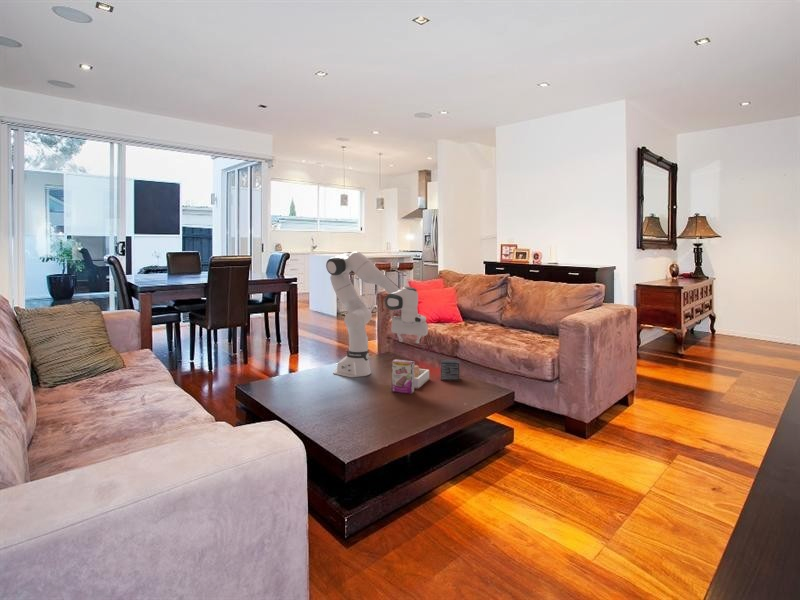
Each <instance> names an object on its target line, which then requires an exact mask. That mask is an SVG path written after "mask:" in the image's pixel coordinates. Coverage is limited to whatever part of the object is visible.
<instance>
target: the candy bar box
mask: <svg viewBox="0 0 800 600" xmlns="http://www.w3.org/2000/svg"><path fill="white" fill-rule="evenodd" d="M415 363H416V362H415V360H414V361H412V360H403V359H393V360H392V361H391V392H393V393H400V394H401V393H402V394H409V395H412V394H413V393H414V392H415V388H414V369H415V365H416V364H415Z"/></svg>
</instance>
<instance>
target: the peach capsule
mask: <svg viewBox="0 0 800 600" xmlns="http://www.w3.org/2000/svg"><path fill="white" fill-rule="evenodd" d="M419 369H420V366H419V365H417V364H415V369H414V373H415V378H418V377H419Z"/></svg>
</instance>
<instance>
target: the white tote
mask: <svg viewBox="0 0 800 600" xmlns="http://www.w3.org/2000/svg"><path fill="white" fill-rule="evenodd" d="M429 380H430V369H425V368H419V377H418V378H415V377H414V389H420V388H421V387H423V385H424V384H426V383H427V382H428V381H429Z"/></svg>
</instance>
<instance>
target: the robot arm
mask: <svg viewBox="0 0 800 600" xmlns="http://www.w3.org/2000/svg"><path fill="white" fill-rule="evenodd" d="M325 267H326V270H327V271H326V272H328V274H330V282H331V283H330V284H331V285H332V289H333V290H334V292H335V295H336V296H337V298H338V301H339V302H340V305H342V306H343V307H344V308H345V309H346V311H347V313H346V315H345V316H344V318H343V323H344V325H345V326H346V329H347V333H348V344H349V345H348V346H349V349H348V350H347V351H345V354H346V356H344V357H343V358H341V359H340V360H339V361H338V362H337V364H336V365H337V366H336V368H335V369H334V370H333V371H332V372H333V373H332V374H334V375H338V376H343V377H346V378H357V377H367V376H370V375H371V374H372V372H371V368H370V367H371V366H370V362H369V360H370V351H369V336H368V335H367V331H366V325H368V323H369V322H371V320H372V316H373V314H372V310H370V309H369V308H368V307H367V306H366V304H365V303H364V302H363V300H362V298H360V296H359V294H358V293H357V291H356V288H355V286H354V285H353V282H352V281H351V279H350V274H352V273H354V274H355V275H356V276H357V278H358V279H360V280H361V281H362V282H364V283H365V284H372V285H376V286H378V287H381V288H382V289H383V290H384V291H386V293H388V294H387V295H386V296H385V297H384V304H385V307H386V308H387V309H388V310H390V311H397V310H398V311H399V310H401V316H397V315H393V317H391V329H390V331H391V333H392V334H396V335H397V338H398V341H399V343H403V342H404V337H402V336H401V335H411V336H417V339H415V344H420V340H421V338H422V337H425V336H427V335H428V334H429V327H428V323H427V322H426V321H427V316H425V315H422V314H419V310H418V306H419V295H418V290H417V289H416V288H415V287H413V286H403V287H402V288H400V287H399V286H398V285H397V284H396V283H394V281H392V280H391V279H390V277H388V276H386V274H385V273H383V272H382V271H381V270H379V268H378V267H377V266H376V265H375V264H374V263H373V262H372V261H371V260H370V259H369V258H368V257H367V256H366V255H364V254H363V253H362V252H360V251H352V252H351V251H347V252H345V253H340V254H337V255H336V256H332V257H330V258H329V259H328V260H327V261H326V264H325Z"/></svg>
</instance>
